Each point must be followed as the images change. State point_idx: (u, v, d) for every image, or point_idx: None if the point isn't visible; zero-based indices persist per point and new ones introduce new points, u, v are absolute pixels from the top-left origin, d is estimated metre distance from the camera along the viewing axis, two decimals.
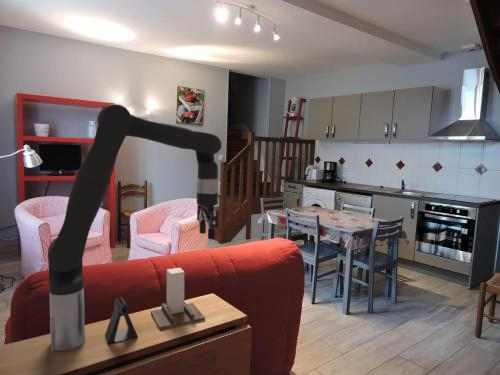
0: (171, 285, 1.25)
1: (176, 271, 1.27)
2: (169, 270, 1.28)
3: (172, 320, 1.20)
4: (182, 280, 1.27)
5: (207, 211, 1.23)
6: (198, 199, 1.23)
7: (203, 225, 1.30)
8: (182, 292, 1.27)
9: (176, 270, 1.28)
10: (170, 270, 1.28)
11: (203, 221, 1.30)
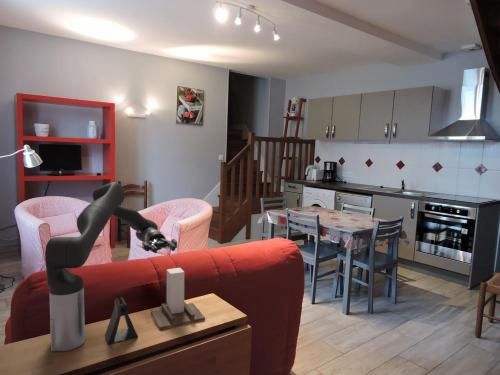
0: (171, 285, 1.25)
1: (176, 271, 1.27)
2: (169, 270, 1.28)
3: (172, 320, 1.20)
4: (182, 280, 1.27)
5: (165, 240, 1.50)
6: (158, 232, 1.52)
7: None
8: (182, 292, 1.27)
9: (176, 270, 1.28)
10: (170, 270, 1.28)
11: None
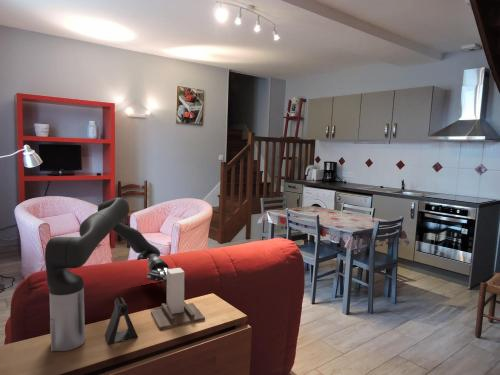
0: (171, 285, 1.25)
1: (176, 271, 1.27)
2: (169, 270, 1.28)
3: (172, 320, 1.20)
4: (182, 280, 1.27)
5: (168, 268, 1.47)
6: (160, 260, 1.49)
7: None
8: (182, 292, 1.27)
9: (176, 270, 1.28)
10: (170, 270, 1.28)
11: None
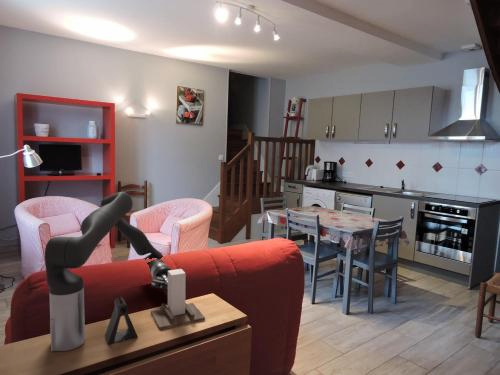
0: (172, 286, 1.24)
1: (177, 273, 1.25)
2: (170, 271, 1.27)
3: (172, 320, 1.20)
4: (183, 281, 1.26)
5: None
6: (165, 266, 1.42)
7: None
8: (183, 293, 1.26)
9: (178, 271, 1.27)
10: (171, 271, 1.27)
11: None
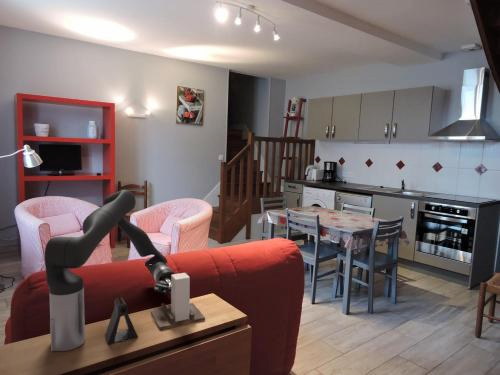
0: (176, 291, 1.20)
1: (181, 277, 1.22)
2: (174, 275, 1.23)
3: (172, 320, 1.20)
4: (187, 286, 1.22)
5: None
6: (168, 270, 1.38)
7: None
8: (187, 298, 1.22)
9: (182, 275, 1.23)
10: (175, 275, 1.23)
11: None
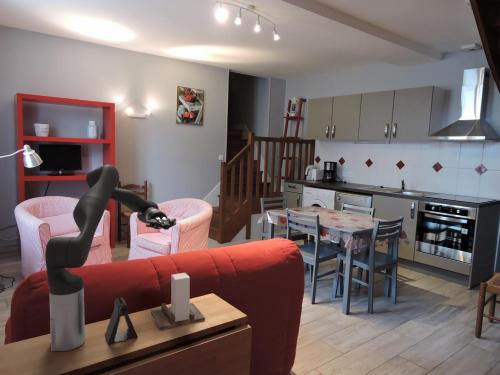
0: (176, 291, 1.20)
1: (181, 277, 1.21)
2: (174, 275, 1.23)
3: (172, 320, 1.20)
4: (187, 286, 1.22)
5: (167, 218, 1.47)
6: (159, 211, 1.49)
7: None
8: (187, 298, 1.22)
9: (182, 275, 1.23)
10: (175, 275, 1.23)
11: None
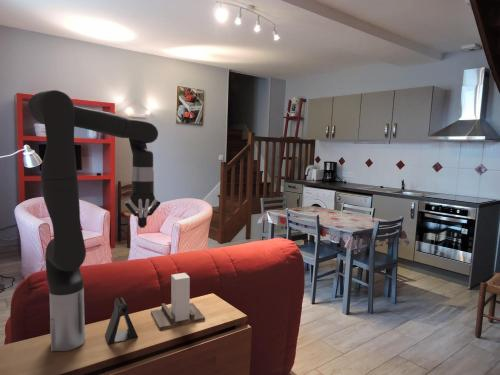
0: (176, 291, 1.20)
1: (181, 277, 1.21)
2: (174, 275, 1.23)
3: (172, 320, 1.20)
4: (187, 286, 1.22)
5: (151, 198, 1.27)
6: (147, 188, 1.24)
7: None
8: (187, 298, 1.22)
9: (182, 275, 1.23)
10: (175, 275, 1.23)
11: None
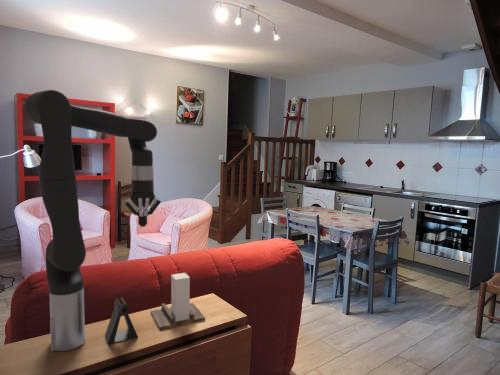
0: (176, 291, 1.20)
1: (181, 277, 1.21)
2: (174, 275, 1.23)
3: (172, 320, 1.20)
4: (187, 286, 1.22)
5: (151, 197, 1.27)
6: (146, 186, 1.23)
7: None
8: (187, 298, 1.22)
9: (182, 275, 1.23)
10: (175, 275, 1.23)
11: None
